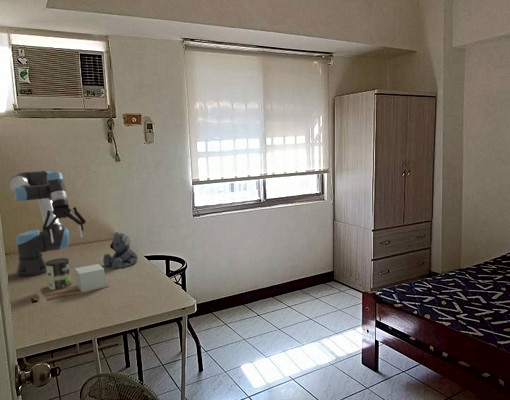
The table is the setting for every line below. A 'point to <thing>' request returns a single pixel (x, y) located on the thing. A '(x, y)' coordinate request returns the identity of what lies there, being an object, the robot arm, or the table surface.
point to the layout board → (65, 292)
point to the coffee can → (58, 273)
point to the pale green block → (90, 277)
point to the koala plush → (120, 252)
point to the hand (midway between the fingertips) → (67, 239)
